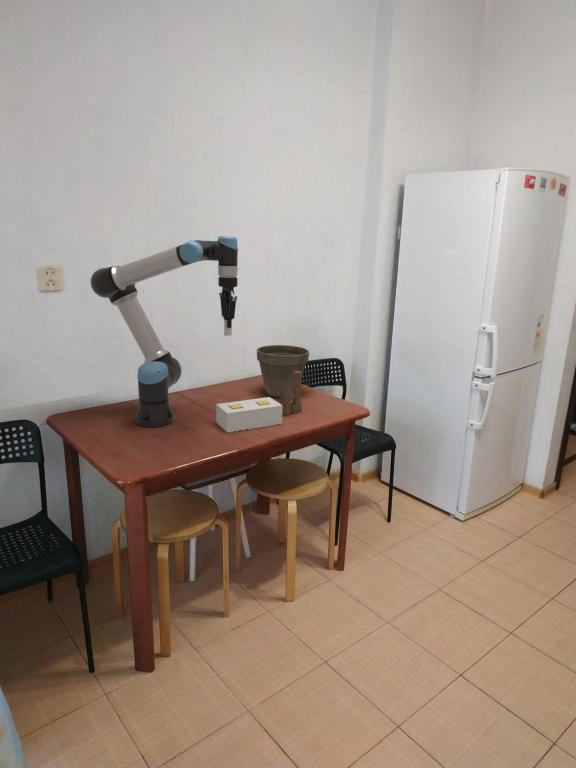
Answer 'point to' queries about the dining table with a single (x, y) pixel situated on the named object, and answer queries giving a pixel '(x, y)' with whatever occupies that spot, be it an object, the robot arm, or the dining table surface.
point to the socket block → (248, 414)
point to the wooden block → (291, 395)
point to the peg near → (235, 406)
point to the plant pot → (280, 365)
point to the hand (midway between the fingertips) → (227, 335)
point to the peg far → (262, 403)
